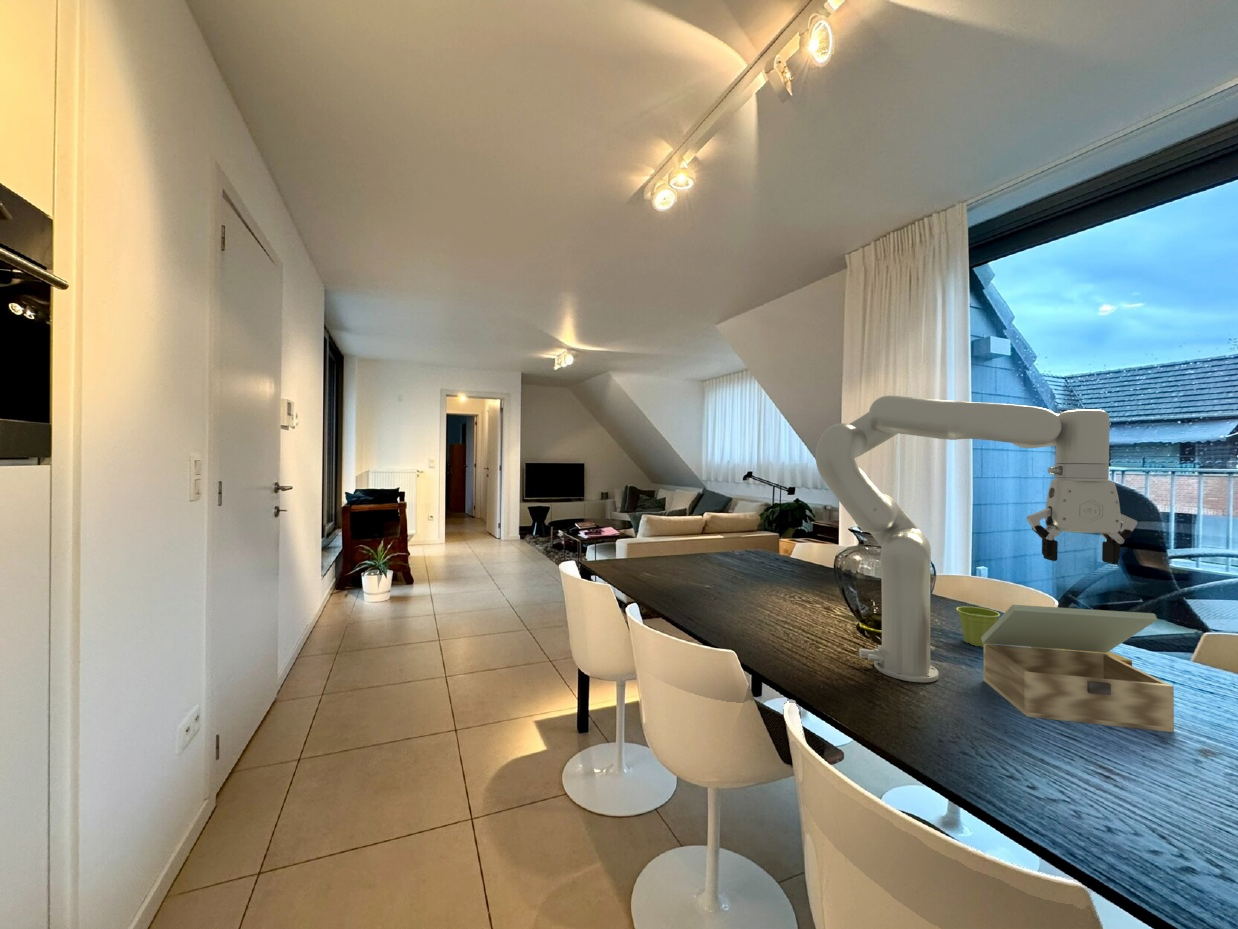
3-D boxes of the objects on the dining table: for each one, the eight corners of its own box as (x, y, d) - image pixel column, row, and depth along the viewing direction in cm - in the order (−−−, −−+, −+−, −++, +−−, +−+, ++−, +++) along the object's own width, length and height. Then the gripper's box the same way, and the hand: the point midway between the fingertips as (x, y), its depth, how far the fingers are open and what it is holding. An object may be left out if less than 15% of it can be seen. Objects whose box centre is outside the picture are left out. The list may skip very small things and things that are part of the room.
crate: (1028, 717, 89) (1028, 674, 89) (983, 680, 105) (983, 643, 105) (1176, 733, 84) (1176, 687, 84) (1105, 692, 100) (1105, 653, 100)
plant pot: (952, 643, 128) (952, 610, 128) (961, 635, 135) (960, 604, 135) (996, 653, 121) (996, 618, 122) (1003, 644, 128) (1003, 611, 128)
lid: (1014, 610, 93) (1012, 604, 94) (982, 643, 105) (980, 637, 106) (1157, 619, 88) (1154, 613, 89) (1106, 652, 100) (1103, 647, 101)
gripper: (1040, 472, 93) (1038, 561, 92) (1152, 475, 88) (1150, 568, 88) (1018, 472, 100) (1017, 555, 100) (1121, 474, 96) (1119, 561, 95)
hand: (1079, 561), depth 94 cm, fingers open, 9 cm apart
